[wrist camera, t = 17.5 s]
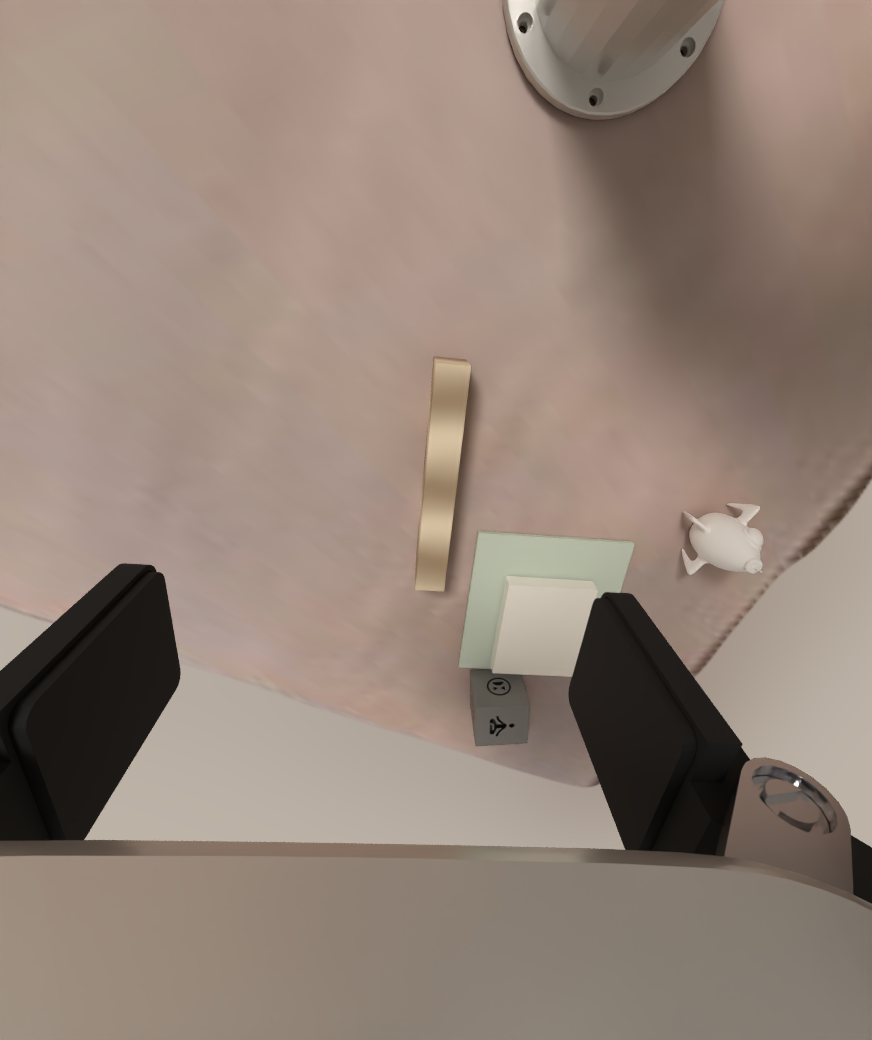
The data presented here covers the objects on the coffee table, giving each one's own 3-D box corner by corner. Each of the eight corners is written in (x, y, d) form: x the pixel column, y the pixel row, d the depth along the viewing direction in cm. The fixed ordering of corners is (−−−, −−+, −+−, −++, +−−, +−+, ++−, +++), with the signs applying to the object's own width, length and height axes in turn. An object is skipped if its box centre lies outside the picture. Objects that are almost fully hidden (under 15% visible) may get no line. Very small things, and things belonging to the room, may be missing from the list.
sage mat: (478, 530, 41) (478, 532, 41) (633, 541, 42) (635, 543, 42) (458, 664, 48) (458, 667, 47) (593, 670, 49) (595, 673, 48)
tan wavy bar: (433, 356, 35) (435, 362, 32) (465, 359, 35) (471, 365, 32) (415, 565, 43) (415, 589, 39) (441, 566, 43) (444, 591, 39)
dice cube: (470, 669, 48) (475, 707, 43) (519, 666, 48) (529, 704, 44) (470, 705, 50) (475, 746, 46) (517, 703, 50) (527, 743, 46)
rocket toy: (735, 491, 41) (804, 532, 34) (730, 546, 43) (794, 595, 36) (672, 503, 41) (728, 546, 34) (670, 557, 43) (722, 608, 36)
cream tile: (509, 584, 41) (492, 673, 45) (598, 590, 42) (573, 676, 46) (505, 574, 43) (489, 660, 47) (591, 579, 43) (568, 664, 48)
